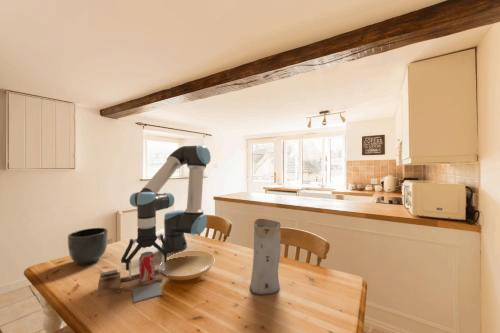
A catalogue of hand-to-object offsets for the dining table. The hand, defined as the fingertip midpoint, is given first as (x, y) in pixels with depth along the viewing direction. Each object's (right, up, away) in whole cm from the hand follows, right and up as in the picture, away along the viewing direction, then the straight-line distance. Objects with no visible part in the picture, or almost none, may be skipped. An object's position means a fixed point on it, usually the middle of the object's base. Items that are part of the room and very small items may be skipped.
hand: (147, 273), depth 99 cm
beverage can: (0, -3, 0) cm, 3 cm away
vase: (+53, -3, -7) cm, 54 cm away
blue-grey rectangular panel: (-12, +3, -7) cm, 15 cm away
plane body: (-6, -3, -3) cm, 7 cm away
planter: (-41, -3, +19) cm, 45 cm away
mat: (+4, -3, -10) cm, 11 cm away
